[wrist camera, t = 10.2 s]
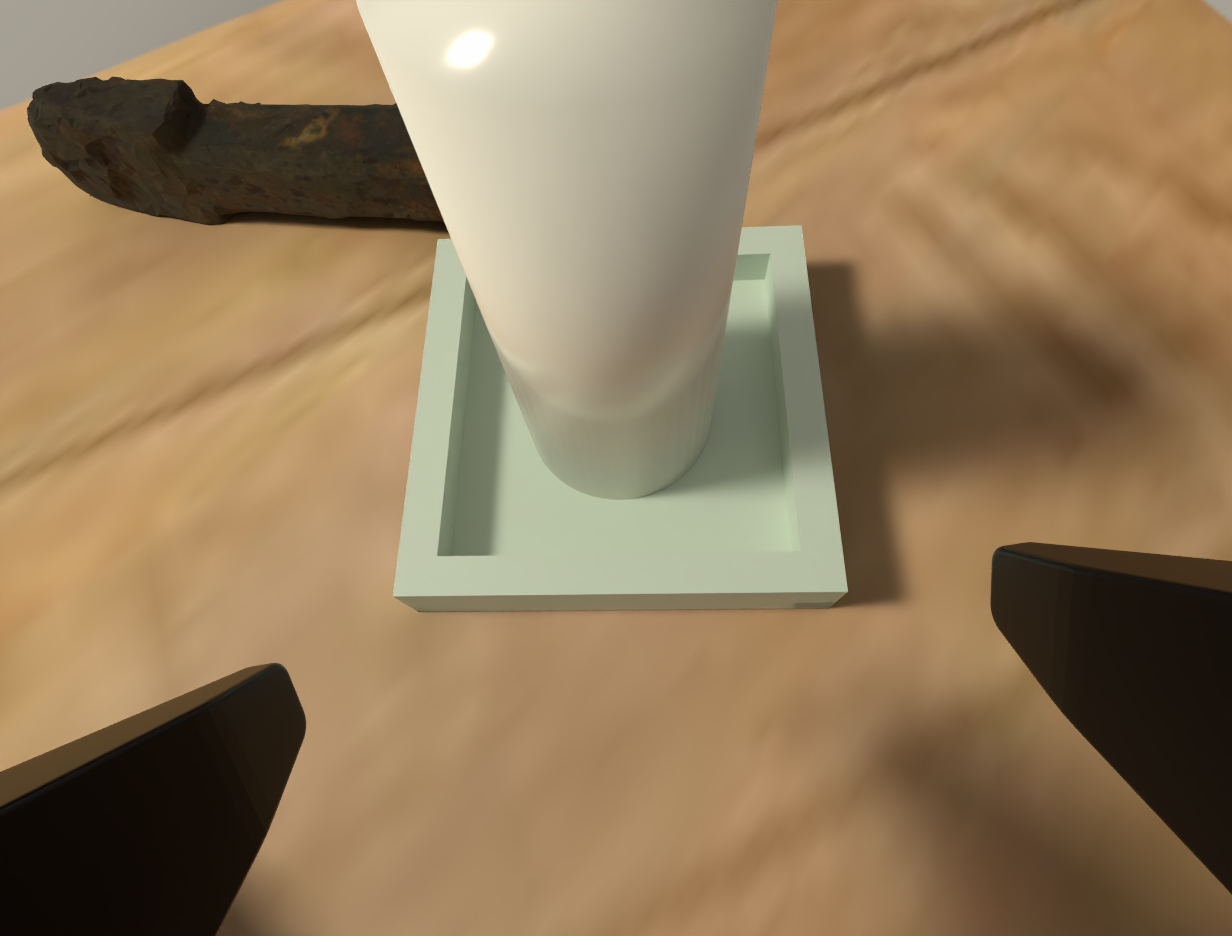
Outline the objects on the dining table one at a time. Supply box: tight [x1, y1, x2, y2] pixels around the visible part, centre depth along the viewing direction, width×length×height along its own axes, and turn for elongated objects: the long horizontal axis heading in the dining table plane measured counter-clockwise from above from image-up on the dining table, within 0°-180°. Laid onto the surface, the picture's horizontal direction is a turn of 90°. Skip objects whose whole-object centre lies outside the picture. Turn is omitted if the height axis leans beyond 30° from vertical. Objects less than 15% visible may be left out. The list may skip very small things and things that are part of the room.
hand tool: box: [27, 77, 444, 225], centre depth 23 cm, size 19×4×5 cm, turn 83°
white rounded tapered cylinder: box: [356, 0, 777, 500], centre depth 14 cm, size 5×5×12 cm
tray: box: [393, 225, 848, 612], centre depth 20 cm, size 11×11×2 cm
